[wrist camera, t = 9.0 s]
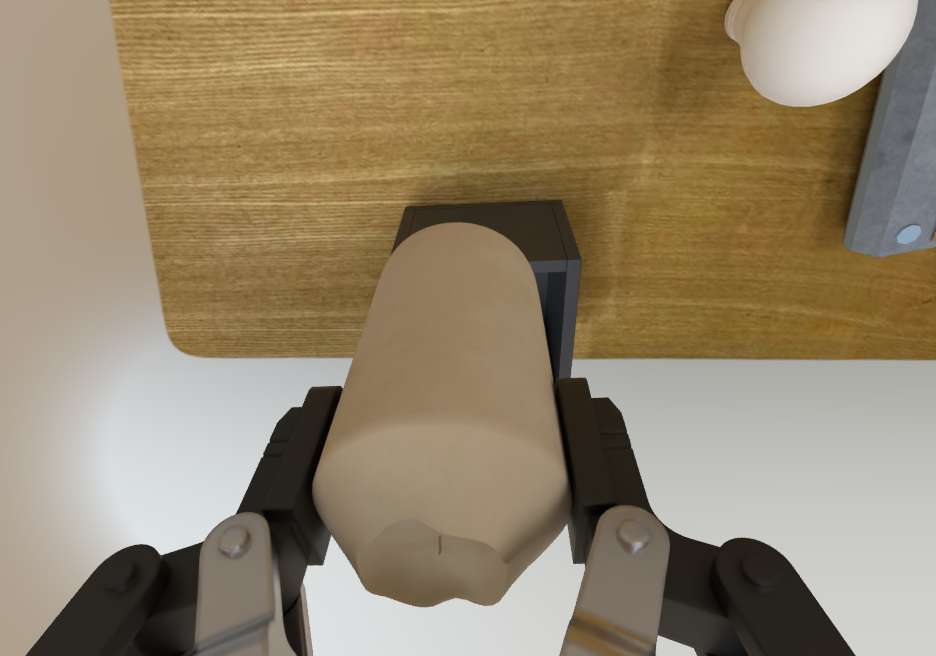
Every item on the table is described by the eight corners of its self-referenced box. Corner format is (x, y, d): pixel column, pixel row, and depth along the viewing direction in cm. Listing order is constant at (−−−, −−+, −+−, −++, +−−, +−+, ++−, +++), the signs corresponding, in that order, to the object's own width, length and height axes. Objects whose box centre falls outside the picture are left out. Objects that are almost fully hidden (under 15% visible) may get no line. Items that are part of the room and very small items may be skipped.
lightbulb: (808, 38, 28) (959, 72, 19) (699, 94, 30) (791, 149, 21) (793, -83, 25) (966, -110, 16) (672, -12, 26) (768, 0, 18)
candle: (461, 184, 15) (435, 445, 7) (568, 296, 17) (642, 588, 9) (348, 287, 17) (230, 570, 9) (456, 373, 19) (437, 658, 11)
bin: (423, 329, 41) (411, 403, 34) (405, 206, 34) (386, 267, 28) (553, 325, 41) (568, 399, 34) (561, 199, 34) (582, 259, 27)
